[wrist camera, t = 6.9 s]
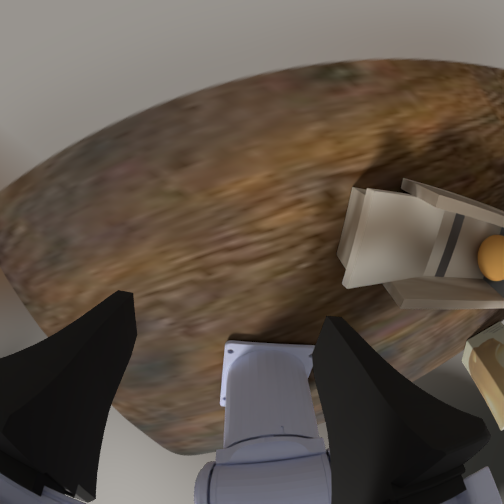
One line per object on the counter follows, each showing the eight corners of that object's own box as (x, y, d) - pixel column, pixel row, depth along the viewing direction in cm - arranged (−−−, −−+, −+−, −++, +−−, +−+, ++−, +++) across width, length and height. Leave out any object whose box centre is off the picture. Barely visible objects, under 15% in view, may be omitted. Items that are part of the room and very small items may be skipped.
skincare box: (500, 319, 25) (551, 382, 14) (493, 342, 26) (537, 403, 15) (464, 340, 25) (514, 414, 14) (458, 362, 27) (501, 433, 16)
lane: (481, 284, 22) (506, 308, 18) (326, 271, 21) (344, 306, 17) (507, 212, 19) (538, 230, 15) (351, 165, 18) (380, 179, 13)
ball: (464, 264, 21) (491, 271, 20) (484, 286, 17) (511, 292, 17) (478, 223, 19) (505, 233, 19) (502, 240, 15) (528, 250, 15)
